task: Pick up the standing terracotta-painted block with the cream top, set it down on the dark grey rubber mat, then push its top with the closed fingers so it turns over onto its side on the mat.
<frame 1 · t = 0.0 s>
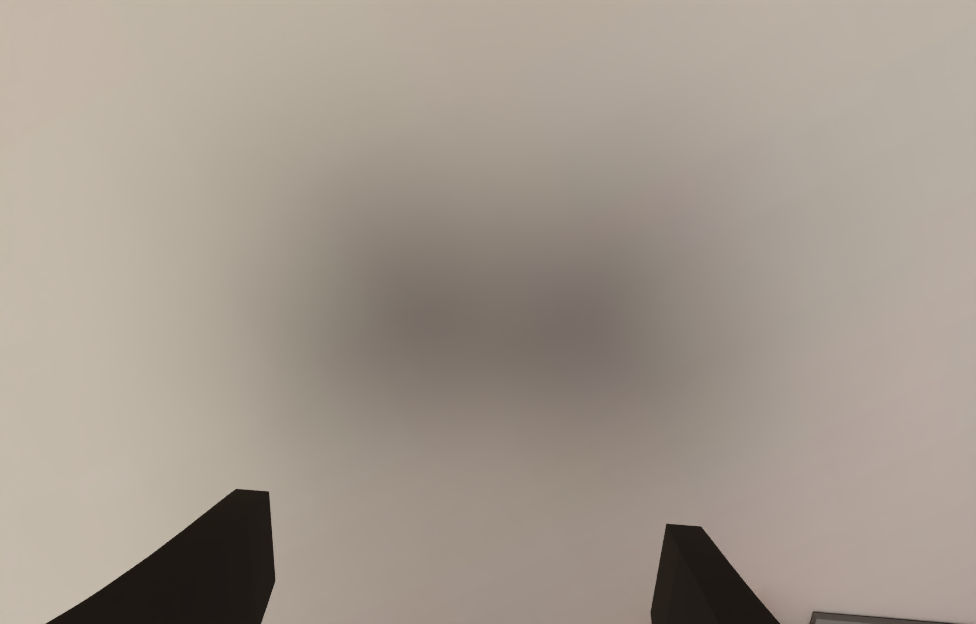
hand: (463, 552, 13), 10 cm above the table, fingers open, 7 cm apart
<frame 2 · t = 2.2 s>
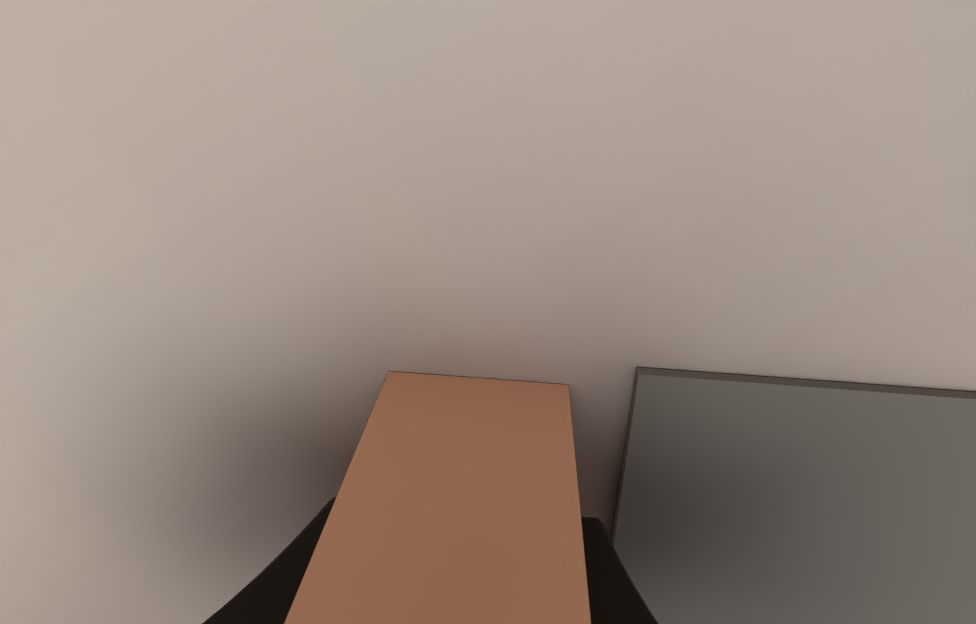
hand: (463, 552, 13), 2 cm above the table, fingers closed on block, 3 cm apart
mat: (841, 595, 16), on the table
block: (472, 485, 15), on the table, touching gripper
when the fingers open (3 cm above the table, at t = 5.0 s): block stays where it is, resting on mat.
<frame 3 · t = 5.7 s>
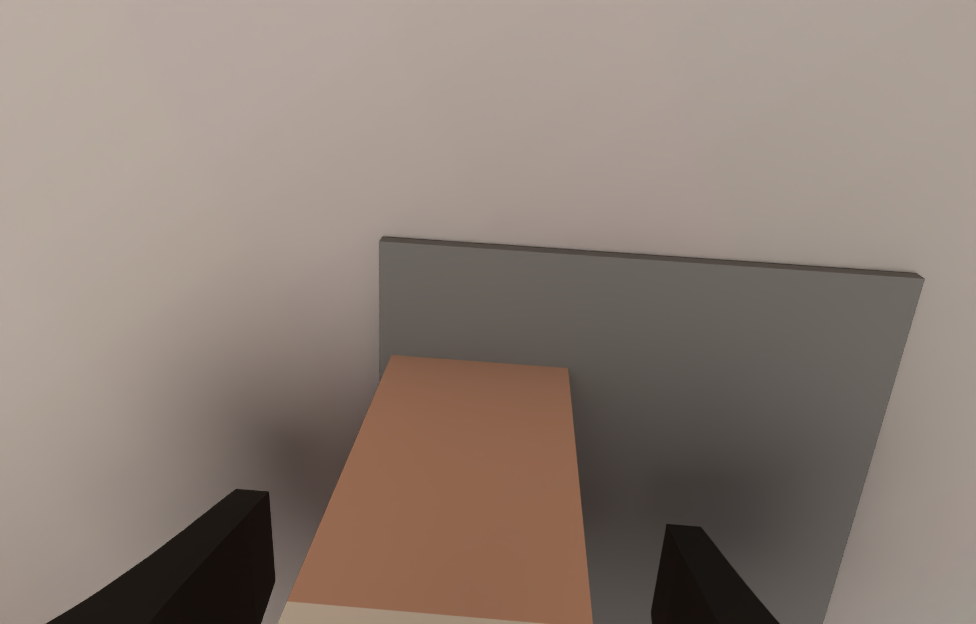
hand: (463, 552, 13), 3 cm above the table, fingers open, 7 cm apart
mat: (614, 478, 16), on the table
block: (473, 468, 15), resting on mat
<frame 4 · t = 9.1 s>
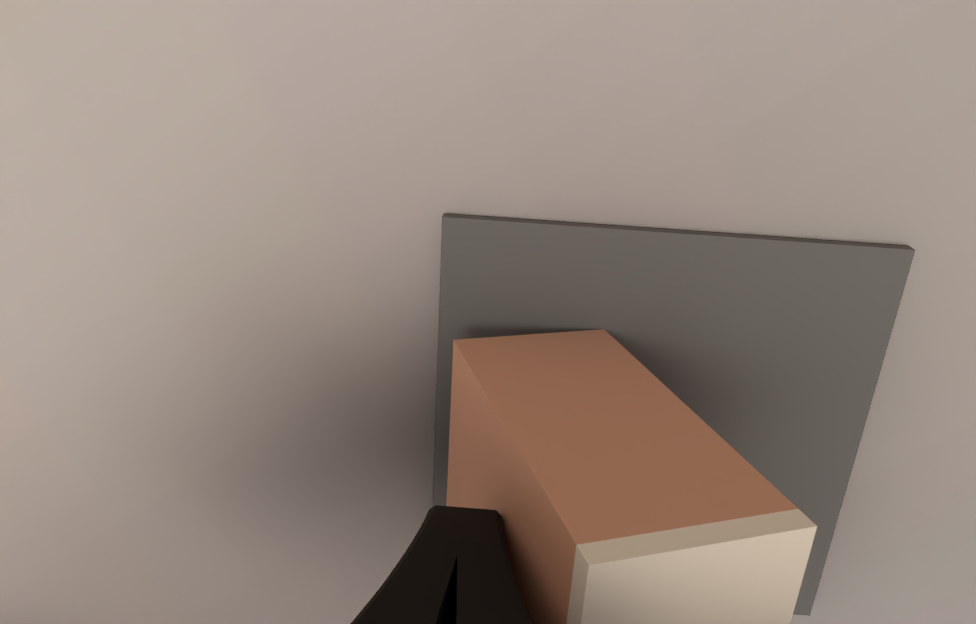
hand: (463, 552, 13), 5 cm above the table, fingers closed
mat: (642, 429, 18), on the table
block: (522, 433, 17), point 1 cm above the table, tilted 20°, touching gripper, mat
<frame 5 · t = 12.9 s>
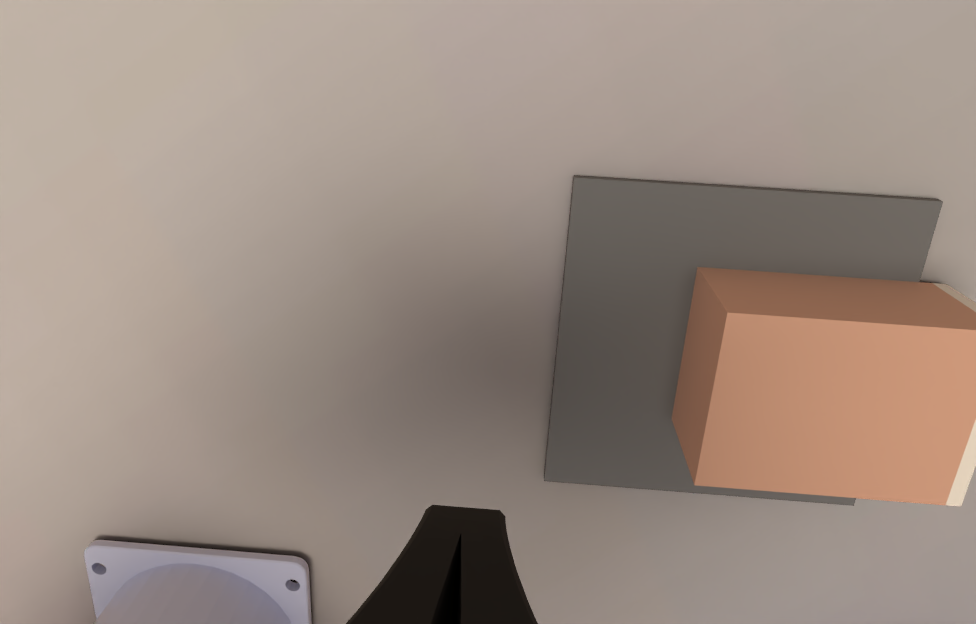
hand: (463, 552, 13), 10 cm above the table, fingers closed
mat: (722, 350, 22), on the table
block: (695, 372, 20), point 2 cm above the table, tilted 90°, touching mat
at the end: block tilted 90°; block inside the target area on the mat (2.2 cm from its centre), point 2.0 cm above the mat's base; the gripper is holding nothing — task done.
